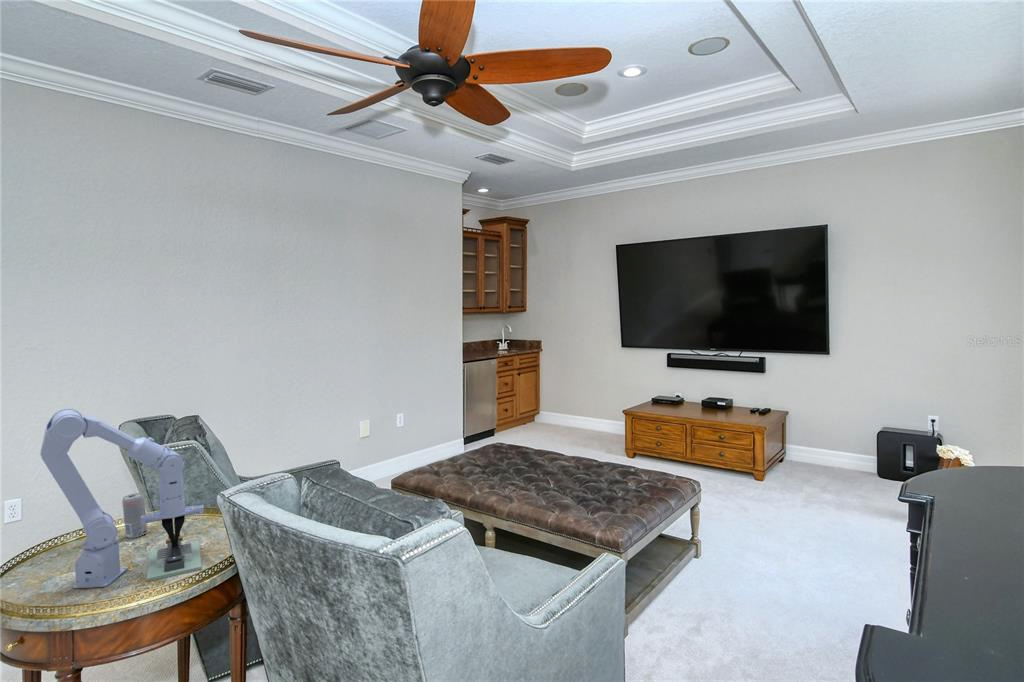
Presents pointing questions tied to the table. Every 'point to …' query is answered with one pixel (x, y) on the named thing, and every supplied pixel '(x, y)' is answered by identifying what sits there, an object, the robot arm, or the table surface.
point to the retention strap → (174, 550)
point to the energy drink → (134, 515)
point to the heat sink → (185, 553)
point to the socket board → (162, 574)
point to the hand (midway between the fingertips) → (174, 543)
